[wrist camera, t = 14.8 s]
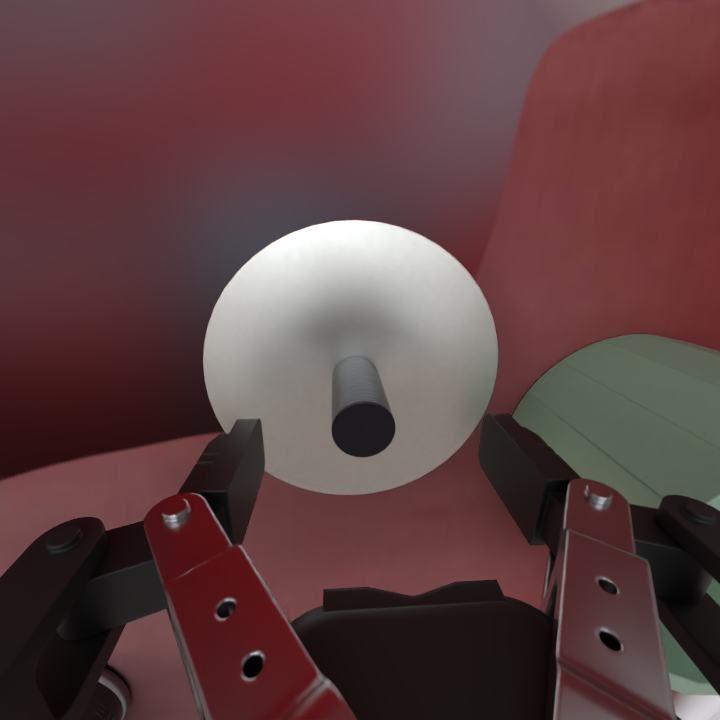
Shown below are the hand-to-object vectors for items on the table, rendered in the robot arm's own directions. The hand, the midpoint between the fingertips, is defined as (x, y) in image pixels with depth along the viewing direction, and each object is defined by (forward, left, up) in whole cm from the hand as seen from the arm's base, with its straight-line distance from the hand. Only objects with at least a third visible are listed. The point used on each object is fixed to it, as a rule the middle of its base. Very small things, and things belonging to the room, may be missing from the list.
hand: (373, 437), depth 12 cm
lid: (0, 0, -6) cm, 6 cm away
